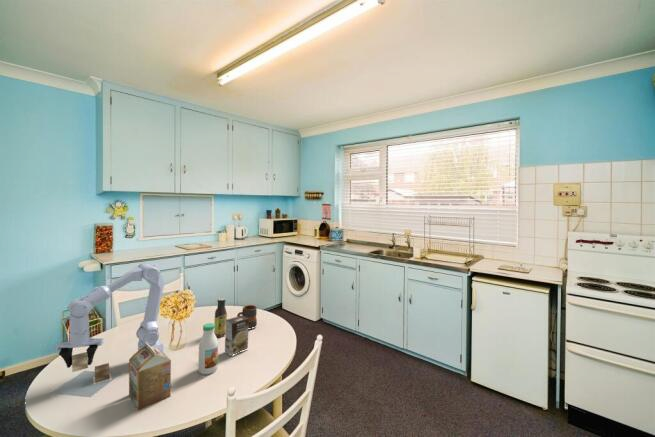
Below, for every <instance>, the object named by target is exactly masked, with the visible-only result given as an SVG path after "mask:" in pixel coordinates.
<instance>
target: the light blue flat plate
mask: <svg viewBox="0 0 655 437" xmlns="http://www.w3.org/2000/svg"><path fill="white" fill-rule="evenodd" d="M120 375H121V373H115V372H110V379H107V380H104V381H101V382H97V383H95V370H94V371H93V370H84V371H82V372H80V373H79V374H77V375H76V376H75V377H73V378H71V379H70V380H68V381H67V382H65V383H63V384H62V385H60V386H59V387H57V388H55V389H54V390H52V391H51V392H50V394H54V395H64V396H72V397H73V396H76V397H86V398H91V397H93V396H94V395H96V394H97V393H98V392H100V391H101V390H102V389H104V388H105V387H106V386H107V385H109V384H110V383H111V382H113V381H114V380H115V379H116V378H118V377H119V376H120Z"/></svg>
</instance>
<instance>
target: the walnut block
mask: <svg viewBox="0 0 655 437" xmlns="http://www.w3.org/2000/svg"><path fill="white" fill-rule="evenodd" d="M110 368H111V367H110V364H109V362H107V363H104V364H100V365H96V366H94V372H95V383H97V382H101V381H104V380H107V379H110V373H111V372H110V370H111V369H110Z"/></svg>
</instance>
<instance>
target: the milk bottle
mask: <svg viewBox="0 0 655 437" xmlns="http://www.w3.org/2000/svg"><path fill="white" fill-rule="evenodd" d="M214 328H215V325H214V323H212V322H210V323H209V322H207V323H205V324H204V325H203V326H202V331H203V333H202V336H201V338H200V340H199V344H198V345H199V346H198V373H199V374H200V373H201V374H200V375H205V374H206V375H210V374H211V375H212V374H213V373H215V372H216V371H217V370H218V366H219V364H218V363H219V360H218V359H219V343H218V337H216V336H215V333H214Z"/></svg>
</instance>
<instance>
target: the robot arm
mask: <svg viewBox="0 0 655 437" xmlns="http://www.w3.org/2000/svg"><path fill="white" fill-rule="evenodd" d="M143 280H145V281H146V282H147V284H149V285H150V287H149V290H148V297H147V302H146V306H145V311H144V316H143V320H142V321H141V322H140V325H139V327H138V328H137V330H136V333H135V335H136V338H138V342H137V351H139V350H140V349H141V348H142V347H144V346H145V342H147V344H148V345H149V346H153V347H156V348H158V349H160V350H161V351H162V352H163V353H164V344H163V343H162V342H159V338H160V334H159V325H158V318H159V312H160V306H161V302H162V296H163V292H164V286H165V280H164V278H163V275H162V271H161V270H160V269H159V268H157V267H156V266H153V265H151V264H150V263H147V262H143V263H140V264H138V265H137V266H134V267H133V268H131V269H130V270H128V272H126V273H124V274H123V275H121V276H120V277H118V278H116V279H115V280H114V281H112V282H110V283H109V284H108V285H100V286H99V287H98V286H95V287H93V290H91V291H90V292H88V293H86V294H84V295H81V296H80V297H79V298H75V299H73V300H71V302H70V303H69V304H68V305H67V307H66V308H67V311H68V312H69V322H68V323H69V340H68V341H63V342H57V343H56V344H55V345H54V351H59V350H60V351H59V352H58V354H59V356H60V357H61V358H62V359H63V360H64V363H65V365H66V368H67V369H68V368H71V367H72V355H73V350H74V348H75V349H76V348H84V347H87V348H86V352H87V355H88V366H91V365H92V364H93V361H94V357H95V353H96V352H97V349H98V347H99V346H102V345H103V344H104V338H93V337H90V317H89V314H90V312H91V310H92V309H93V308H95V307H97V306H98V305H99V304H102V303H103V302H105V301H106V300H108V299H110V298H111V295H112V293H114V292H115V291H117V290H119V289H121V288H122V287H124V286H126V285H128V284H129V283H131V282H142V281H143Z"/></svg>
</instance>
